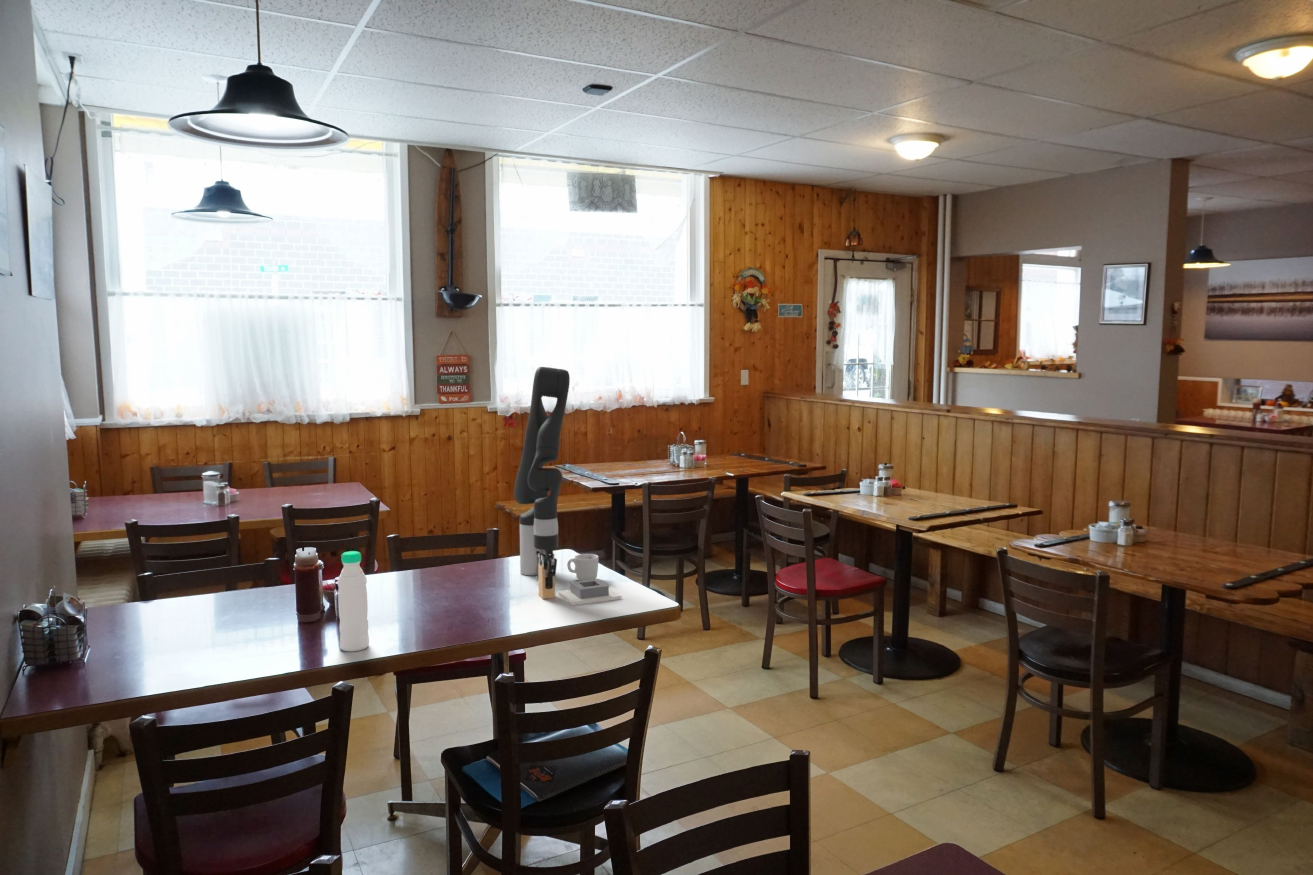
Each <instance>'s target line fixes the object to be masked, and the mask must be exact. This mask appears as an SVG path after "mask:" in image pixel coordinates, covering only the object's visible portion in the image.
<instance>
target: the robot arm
mask: <svg viewBox="0 0 1313 875" xmlns="http://www.w3.org/2000/svg"><path fill="white" fill-rule="evenodd" d="M570 379H571V377H570V372H569V371H568V370H566V369H563V368H556V367H555V368H554V367H548V366H539V367H537V368H536V370H535V373H534V377H533V384H532V393H531V400H530V408H529V415H528V419H527V423H526V428H525V433H524V434H525V435H524V438H523V447H522V452H521V459H520V463H519V467H518V471H517V475H516V476H515V482H514V487H513V496H514V500H515V501H516V503H517V504H519V505H530V504H532V505H533V506H532V507H531V508H530V509H528V510H527V511H525V512H523V513H521V514H520V515H519V518H518V519H519V555H520V556H519V558H520V560H519V564H520V567H519V568H520V574H522V575H525V576H538V564H539V565H542V566H543V569H544V570H545V588H546V589H552V588H553V576H555V577H556V574H557V566H558V565H557V564H558V559H557V558H555V553H554V549H557V548H558V547H559V521H558V501H559V494H560V490H561V488H562V484H563V474H562V471H561V470H560V469H558V468H556V467H544V466H545V465H546V464H548V463H552V462H556V461H557V460H558V459H559V455H560V454H559V453H560V452H559V451H560V442H561V441H560V440H561V431H562V425H563V421H564V416H565V412H566V408H567V401H568V397H569V396H568V395H569V390H570V383H571V382H570ZM543 397H547V398H554V399H555V398H556V403H555V406H554V408H553V410H552V412H550V414H549V416H548V414H547V411H546V409H545V406H544V403H543V400H542V398H543ZM546 566H547V567H546ZM550 570H551V572H550Z"/></svg>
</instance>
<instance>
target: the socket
mask: <svg viewBox="0 0 1313 875" xmlns="http://www.w3.org/2000/svg"><path fill="white" fill-rule="evenodd" d="M569 586H570V589H566V590H565V589H564V590H558V591H557V595H558V594H559V595H558V596H559V597H561V598H562V599H563V600H565V601H566V602H567V603H568V602H569V603H568V604H569V605H571V606H577V605H576V604H579V605H587V604H593V603H602V602H609V601H615V600H621V599H622V595H621V594H619V593H618V592H617V591H615V590H614V589H612V588H611V587H610V586H609V585H607V584H606V583H605V582H604V581H602V580H600V579H599V578H596V579H592V580H584V581H579V580H577V581H570V584H569Z"/></svg>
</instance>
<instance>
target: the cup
mask: <svg viewBox="0 0 1313 875" xmlns="http://www.w3.org/2000/svg"><path fill="white" fill-rule="evenodd" d="M571 563H574V569H573V568H571V567H572V566H571ZM598 568H599V555H597V554H595V553H580V554H577V555H575V556H574V558H569V560H568V561H567V570H568V571H569V573H573V574H576V575H575V576H576V579H577V581H584V580H592V579H598V578H597V577H598V570H599V569H598Z"/></svg>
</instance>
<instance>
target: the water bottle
mask: <svg viewBox="0 0 1313 875" xmlns="http://www.w3.org/2000/svg"><path fill="white" fill-rule="evenodd" d="M340 557H341V564H342V565H343V568H342V570H341V572H340V575H339V576H338V578H337V587H338V594H337V596H338V598H337V599H338V601H337V602H338V616H339V625H338V626H339V628H338V629H339V637H340V638H339V647H340V649H341V650H342V651H344V652H349V653H350V652H353V653H354V652H359V651H363V650H365V649H367V648H368V647H369V645H370V637H369V620H368V612H369V611H368V610H369V609H368V592H367V591H368V589H367V577H366V574H365V573H364V571H363V569H362V567H361V566H360V564H361V562H362V554H361V552H359V551H355V550H350V551H345V552H343V553H342V554H341V556H340Z"/></svg>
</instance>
